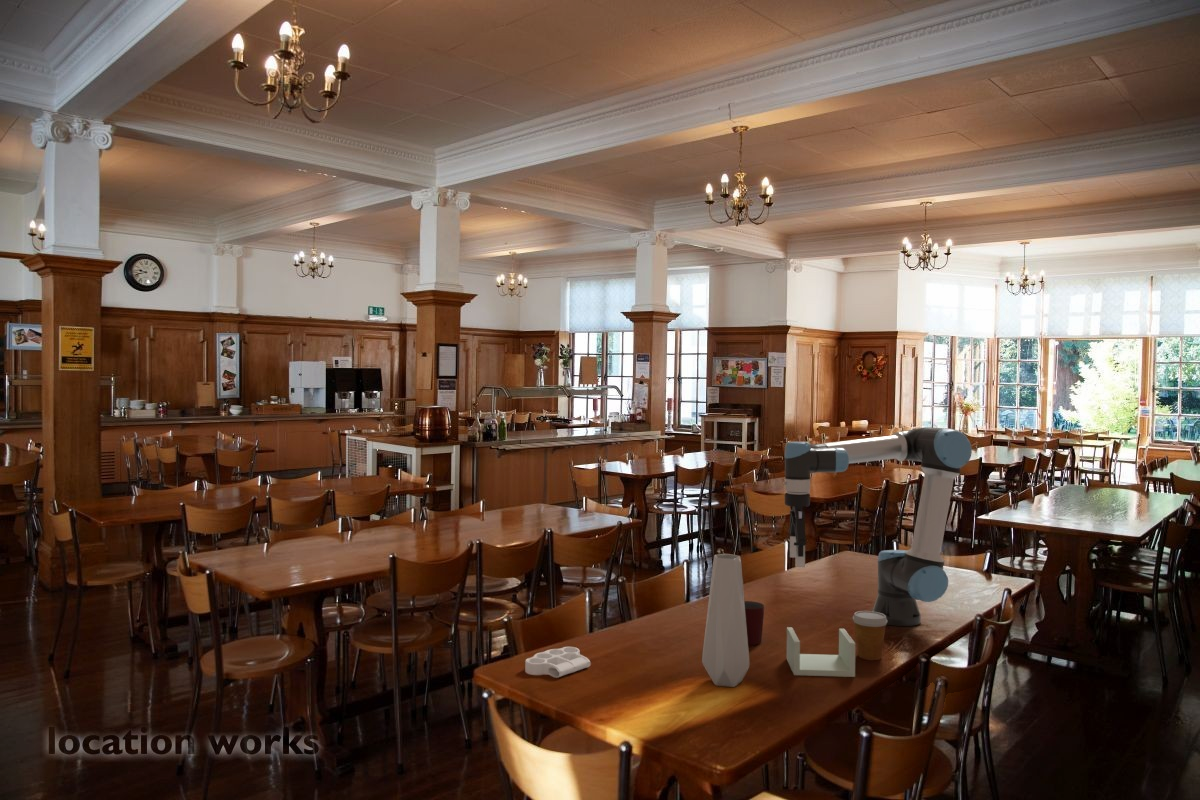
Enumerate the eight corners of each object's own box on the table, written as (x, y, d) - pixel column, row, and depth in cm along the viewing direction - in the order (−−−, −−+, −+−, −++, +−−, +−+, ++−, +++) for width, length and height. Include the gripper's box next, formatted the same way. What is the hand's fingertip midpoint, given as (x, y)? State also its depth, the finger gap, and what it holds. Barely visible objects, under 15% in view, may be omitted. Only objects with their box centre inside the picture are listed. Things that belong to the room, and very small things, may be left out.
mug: (746, 650, 239) (746, 612, 239) (721, 643, 245) (722, 606, 245) (769, 641, 247) (769, 605, 247) (745, 634, 254) (745, 599, 253)
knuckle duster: (550, 683, 213) (514, 670, 223) (598, 666, 226) (562, 654, 236) (550, 671, 213) (514, 657, 223) (598, 654, 226) (562, 642, 236)
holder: (844, 660, 230) (844, 628, 230) (855, 676, 217) (855, 643, 217) (786, 658, 232) (786, 627, 231) (793, 675, 219) (794, 641, 218)
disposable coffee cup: (889, 663, 228) (889, 620, 228) (854, 660, 230) (854, 618, 230) (884, 652, 237) (885, 611, 237) (850, 650, 239) (850, 609, 239)
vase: (740, 694, 205) (740, 563, 204) (697, 685, 211) (698, 558, 210) (757, 679, 215) (758, 555, 214) (717, 671, 221) (717, 550, 221)
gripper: (780, 487, 261) (780, 553, 262) (789, 498, 237) (789, 571, 237) (804, 487, 261) (804, 553, 261) (816, 498, 236) (815, 571, 236)
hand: (797, 562), depth 249 cm, fingers open, 13 cm apart
